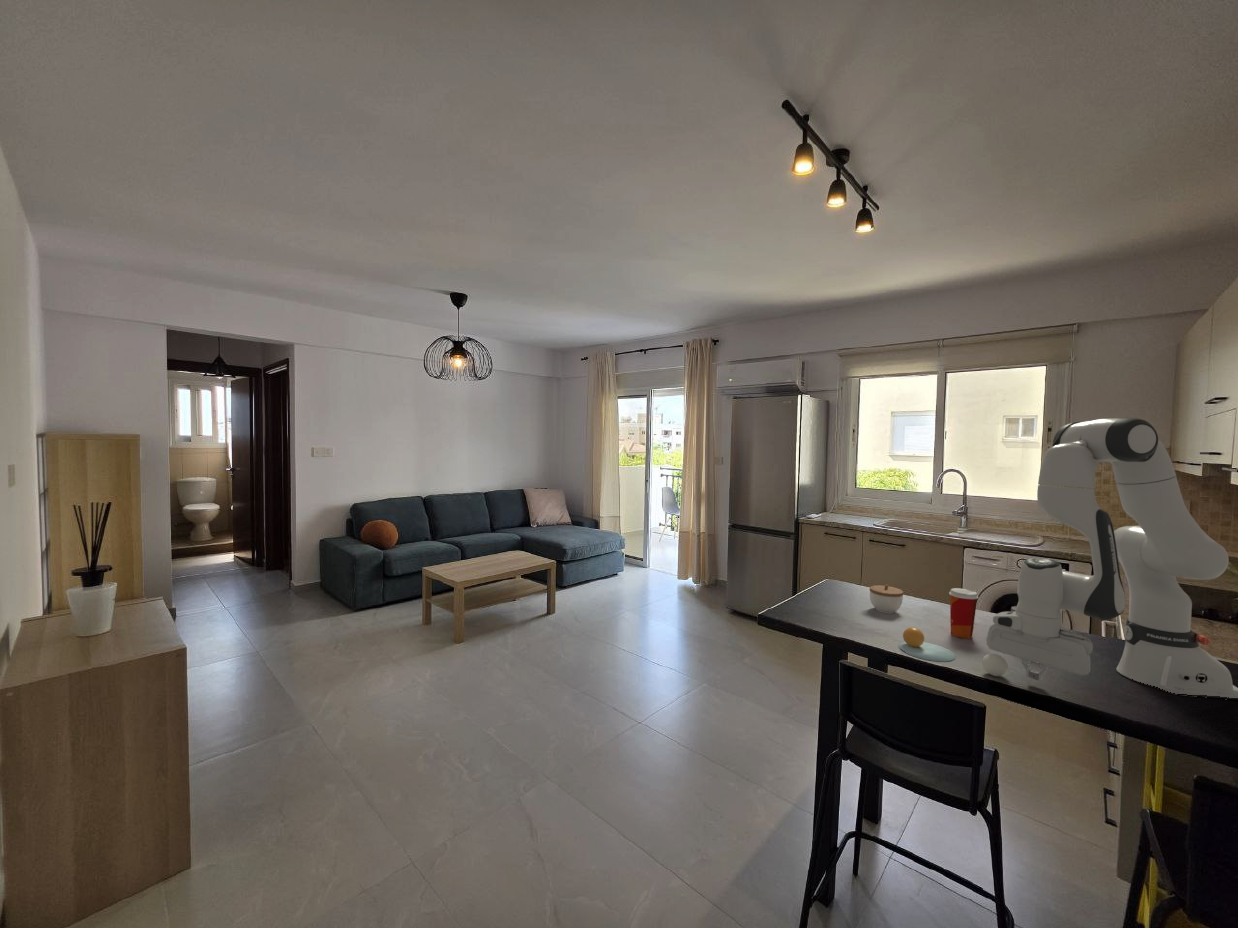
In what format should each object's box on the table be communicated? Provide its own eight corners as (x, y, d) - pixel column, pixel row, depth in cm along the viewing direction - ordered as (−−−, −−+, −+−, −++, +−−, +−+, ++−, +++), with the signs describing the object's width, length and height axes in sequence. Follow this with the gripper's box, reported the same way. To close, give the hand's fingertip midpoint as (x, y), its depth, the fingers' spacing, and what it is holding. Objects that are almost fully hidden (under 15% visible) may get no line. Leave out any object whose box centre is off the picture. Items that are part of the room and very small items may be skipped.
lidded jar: (879, 604, 193) (880, 579, 192) (908, 612, 184) (909, 586, 183) (862, 608, 187) (863, 583, 186) (891, 617, 178) (892, 590, 177)
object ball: (916, 642, 156) (927, 630, 153) (917, 654, 151) (929, 641, 148) (898, 632, 157) (909, 620, 155) (899, 643, 153) (910, 631, 150)
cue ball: (994, 646, 136) (991, 660, 139) (978, 653, 135) (975, 668, 138) (1015, 660, 132) (1011, 675, 134) (998, 668, 130) (995, 684, 133)
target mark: (949, 646, 153) (949, 645, 153) (960, 665, 140) (960, 664, 140) (896, 638, 159) (896, 638, 159) (902, 656, 146) (902, 655, 146)
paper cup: (958, 629, 168) (961, 586, 167) (982, 638, 160) (984, 593, 160) (940, 631, 165) (942, 588, 164) (963, 641, 158) (965, 595, 157)
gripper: (1096, 634, 123) (1092, 691, 123) (994, 610, 139) (991, 661, 139) (1090, 640, 119) (1086, 699, 119) (985, 615, 135) (982, 667, 136)
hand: (1034, 678), depth 130 cm, fingers closed
